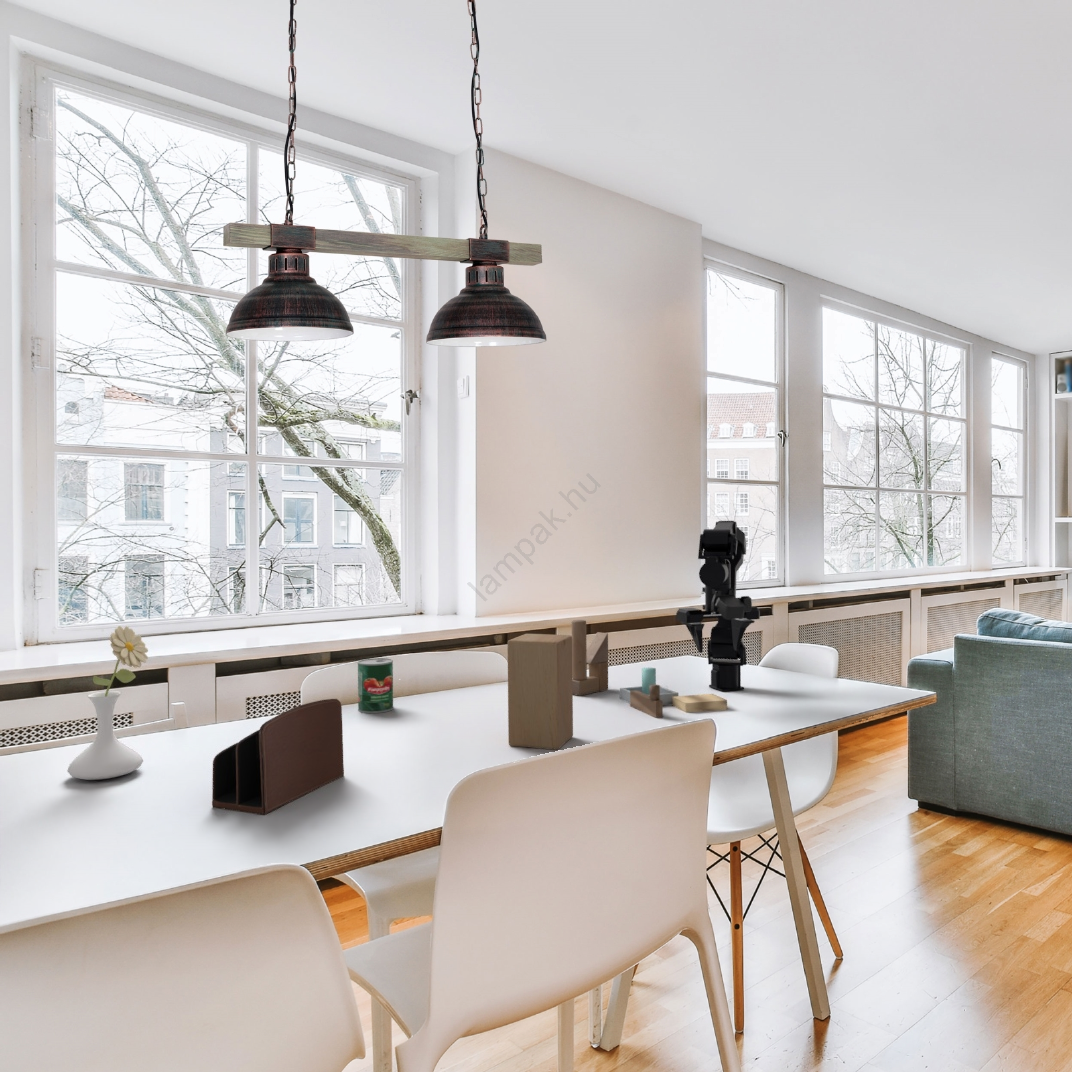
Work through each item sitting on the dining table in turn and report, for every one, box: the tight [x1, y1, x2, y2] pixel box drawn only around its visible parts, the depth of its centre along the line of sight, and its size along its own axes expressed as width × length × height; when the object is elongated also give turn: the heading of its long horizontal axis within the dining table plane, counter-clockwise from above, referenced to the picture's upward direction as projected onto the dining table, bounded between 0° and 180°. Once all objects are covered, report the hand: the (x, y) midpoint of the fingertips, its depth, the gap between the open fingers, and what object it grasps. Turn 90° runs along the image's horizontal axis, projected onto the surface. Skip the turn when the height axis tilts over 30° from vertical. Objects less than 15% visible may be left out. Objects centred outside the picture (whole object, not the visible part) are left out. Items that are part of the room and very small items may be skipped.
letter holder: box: [211, 698, 345, 816], centre depth 130 cm, size 10×20×14 cm, turn 158°
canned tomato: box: [357, 657, 394, 714], centre depth 186 cm, size 8×8×11 cm
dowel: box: [641, 667, 657, 695], centre depth 191 cm, size 3×3×7 cm
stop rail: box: [629, 684, 664, 719], centre depth 181 cm, size 2×12×6 cm, turn 20°
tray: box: [619, 685, 679, 706], centre depth 191 cm, size 10×10×2 cm
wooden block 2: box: [571, 619, 609, 697], centre depth 202 cm, size 4×11×18 cm, turn 135°
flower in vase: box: [66, 625, 149, 781], centre depth 140 cm, size 13×11×25 cm
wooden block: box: [507, 633, 574, 751], centre depth 157 cm, size 10×10×20 cm
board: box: [672, 693, 728, 713], centre depth 185 cm, size 10×7×2 cm
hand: (718, 651), depth 189 cm, fingers open, 9 cm apart
